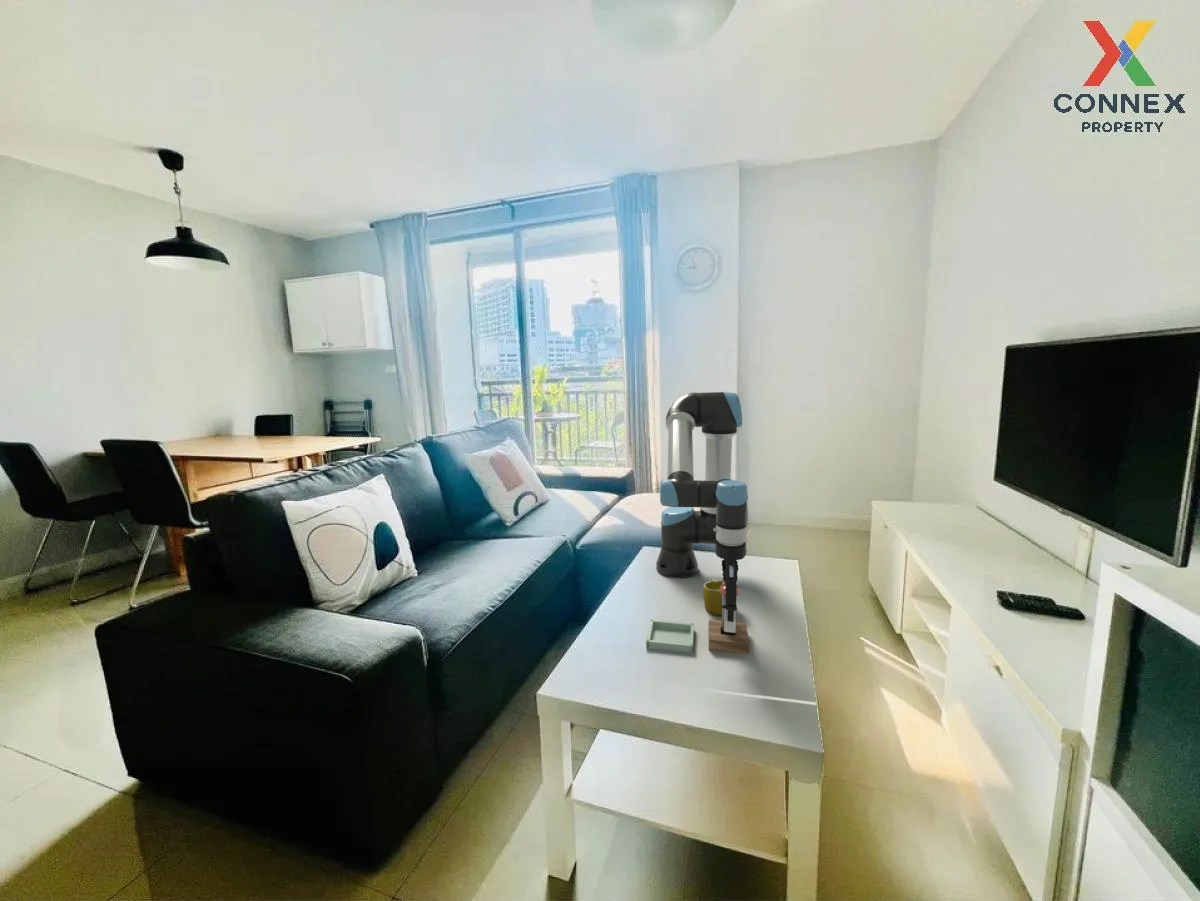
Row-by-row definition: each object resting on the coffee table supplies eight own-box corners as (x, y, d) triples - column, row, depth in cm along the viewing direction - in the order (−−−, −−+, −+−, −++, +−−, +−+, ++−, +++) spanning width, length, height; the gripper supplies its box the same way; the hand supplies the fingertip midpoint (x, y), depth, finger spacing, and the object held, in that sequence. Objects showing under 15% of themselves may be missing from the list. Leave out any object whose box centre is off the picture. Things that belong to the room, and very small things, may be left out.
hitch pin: (718, 635, 127) (719, 582, 125) (736, 637, 126) (738, 583, 124) (718, 645, 123) (720, 590, 120) (737, 647, 122) (739, 592, 119)
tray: (650, 627, 133) (650, 619, 133) (693, 631, 130) (693, 623, 130) (646, 649, 123) (646, 641, 122) (692, 654, 120) (692, 646, 120)
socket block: (708, 631, 131) (708, 619, 130) (745, 634, 128) (746, 623, 128) (708, 651, 121) (708, 639, 120) (748, 656, 119) (749, 643, 118)
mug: (742, 616, 135) (731, 582, 136) (707, 623, 137) (697, 589, 138) (741, 603, 146) (731, 572, 147) (709, 610, 149) (699, 579, 150)
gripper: (714, 524, 133) (713, 594, 136) (716, 559, 109) (714, 642, 112) (742, 526, 131) (739, 596, 135) (750, 561, 107) (747, 645, 111)
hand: (728, 617), depth 123 cm, fingers open, 13 cm apart
